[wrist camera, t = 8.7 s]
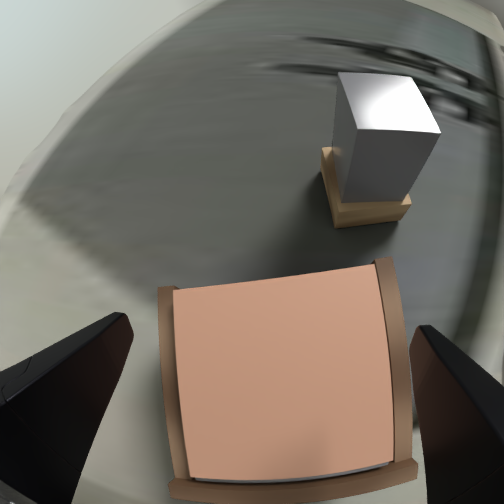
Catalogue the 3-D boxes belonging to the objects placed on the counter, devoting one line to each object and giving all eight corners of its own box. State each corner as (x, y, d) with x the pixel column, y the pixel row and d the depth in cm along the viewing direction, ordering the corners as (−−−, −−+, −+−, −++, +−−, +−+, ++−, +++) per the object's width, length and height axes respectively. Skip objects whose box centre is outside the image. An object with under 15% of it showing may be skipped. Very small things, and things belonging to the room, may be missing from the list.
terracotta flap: (387, 460, 10) (392, 466, 9) (197, 476, 12) (191, 483, 11) (369, 269, 14) (374, 263, 13) (180, 294, 15) (173, 290, 14)
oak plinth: (400, 220, 22) (411, 203, 19) (334, 228, 23) (339, 212, 20) (381, 162, 24) (388, 142, 21) (320, 168, 25) (322, 147, 22)
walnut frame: (378, 436, 17) (417, 478, 9) (213, 452, 18) (170, 498, 10) (363, 286, 21) (397, 250, 13) (200, 306, 22) (149, 283, 14)
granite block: (403, 201, 19) (440, 133, 12) (341, 203, 20) (357, 128, 13) (388, 149, 21) (410, 77, 14) (331, 149, 22) (337, 72, 14)
